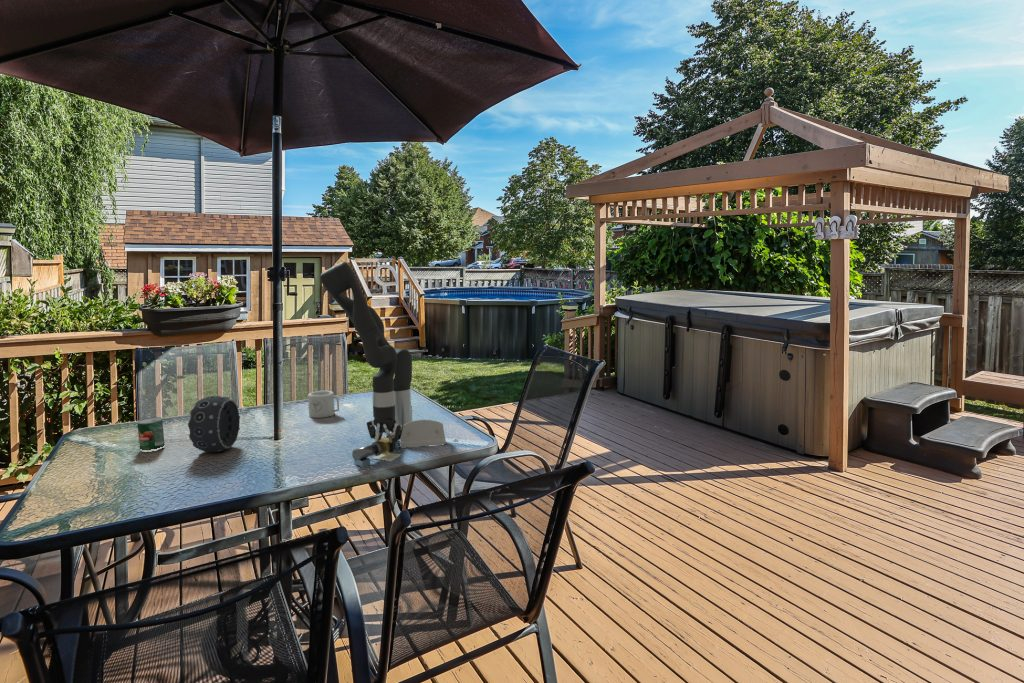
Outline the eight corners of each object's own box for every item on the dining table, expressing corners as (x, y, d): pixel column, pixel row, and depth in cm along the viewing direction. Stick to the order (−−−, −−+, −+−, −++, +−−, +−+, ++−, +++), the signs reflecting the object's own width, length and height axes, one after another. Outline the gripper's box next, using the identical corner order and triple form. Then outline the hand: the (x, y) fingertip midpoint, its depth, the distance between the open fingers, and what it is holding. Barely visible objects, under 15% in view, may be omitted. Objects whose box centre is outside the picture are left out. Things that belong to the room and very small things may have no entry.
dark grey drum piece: (244, 441, 225) (239, 390, 222) (219, 459, 205) (214, 403, 202) (215, 442, 224) (210, 390, 221) (188, 460, 204) (183, 404, 201)
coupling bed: (382, 452, 210) (382, 451, 210) (401, 455, 207) (401, 454, 207) (371, 458, 204) (371, 457, 204) (390, 461, 201) (390, 460, 201)
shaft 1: (360, 468, 195) (359, 449, 194) (351, 465, 198) (350, 446, 197) (382, 461, 202) (381, 443, 201) (373, 458, 205) (372, 440, 204)
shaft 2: (387, 445, 218) (387, 428, 217) (400, 445, 218) (400, 428, 217) (382, 453, 209) (381, 436, 208) (395, 453, 209) (394, 436, 208)
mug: (304, 418, 256) (303, 395, 255) (316, 411, 267) (315, 389, 265) (333, 419, 254) (332, 396, 252) (344, 412, 264) (343, 390, 263)
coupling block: (376, 453, 204) (376, 441, 204) (384, 449, 208) (383, 437, 208) (387, 455, 203) (387, 442, 202) (395, 451, 207) (394, 438, 206)
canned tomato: (136, 453, 212) (132, 423, 211) (145, 446, 220) (142, 417, 218) (159, 452, 214) (156, 422, 212) (168, 445, 221) (165, 416, 220)
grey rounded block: (400, 448, 215) (399, 420, 217) (400, 448, 219) (399, 421, 221) (446, 445, 217) (445, 418, 219) (445, 445, 222) (444, 419, 224)
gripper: (359, 404, 202) (362, 452, 205) (395, 408, 197) (397, 457, 199) (372, 399, 209) (374, 445, 212) (407, 402, 204) (409, 450, 206)
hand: (386, 451), depth 206 cm, fingers closed on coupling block, 4 cm apart
